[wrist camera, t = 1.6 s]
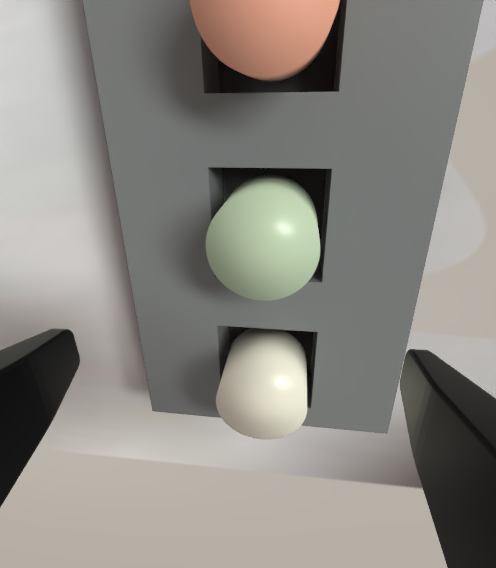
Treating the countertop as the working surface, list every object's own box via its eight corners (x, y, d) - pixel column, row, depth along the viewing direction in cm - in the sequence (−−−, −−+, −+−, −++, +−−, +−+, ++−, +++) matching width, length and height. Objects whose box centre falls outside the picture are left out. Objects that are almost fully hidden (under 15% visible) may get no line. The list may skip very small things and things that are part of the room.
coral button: (339, -68, 12) (351, -127, 9) (327, 80, 14) (334, 75, 11) (211, -60, 13) (181, -112, 10) (217, 82, 15) (194, 77, 12)
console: (477, -120, 13) (522, -177, 10) (377, 396, 24) (387, 433, 21) (104, -90, 15) (60, -132, 12) (168, 378, 25) (152, 410, 23)
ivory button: (309, 329, 20) (310, 374, 16) (304, 392, 22) (304, 443, 18) (227, 324, 20) (213, 366, 17) (230, 386, 22) (218, 434, 19)
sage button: (320, 175, 16) (324, 193, 13) (313, 267, 18) (315, 303, 15) (221, 173, 17) (201, 191, 13) (225, 263, 18) (209, 297, 15)
